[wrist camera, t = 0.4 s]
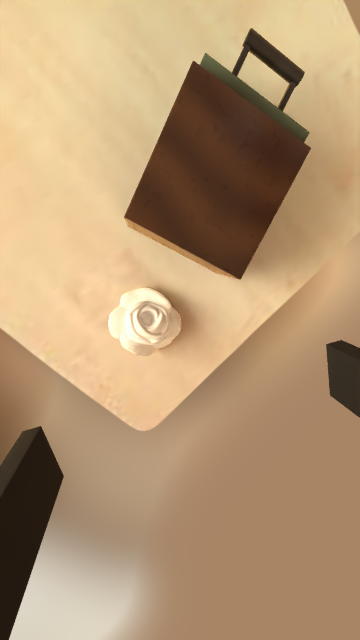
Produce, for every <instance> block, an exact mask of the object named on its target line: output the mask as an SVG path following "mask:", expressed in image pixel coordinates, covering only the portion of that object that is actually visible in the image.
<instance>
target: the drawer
mask: <svg viewBox="0 0 360 640" xmlns="http://www.w3.org/2000/svg"><path fill="white" fill-rule="evenodd" d="M243 47H244V48H243V50H242V52H241V54H240V56H239V59H238V61H237V63H236V65H235V67H234V69H233V71H232V73H231V72H230V71H229V70H227V69H226V68H225V67H223V66H222V65H221V64H219V63H218V62H217V61H215V60H214V59H213V58H211V57H210V56H209V55H208V54H206V53H205V55H204V57H203V59H202V61H201V64H200V66H201V67H203V68H204V69H205V70H207V71H208V72H209V73H211V74H212V75H213V76H215V77H216V78H217V79H219V80H220V81H221V82H223V83H224V84H225V85H227V86H228V87H229V88H231V89H232V90H233V91H235V92H236V93H238V94H239V95H240V96H242V97H243V98H244V99H246V100H247V101H248V102H250V103H251V104H252V105H254V106H255V107H256V108H258V109H259V110H260V111H262V112H263V113H264V114H266V115H267V116H268V117H270V118H271V119H272V120H274V121H275V122H276V123H278V124H279V125H281V126H282V127H283V128H285V129H286V130H287V131H289V132H290V133H291V134H293V135H294V136H295V137H297V138H298V139H299V140H301V141H302V142H303V143H304V142H305V140H306V138H307V136H308V134H309V131H307V130H306V129H305V128H303V127H302V126H301V125H299V124H298V123H297V122H295V121H294V120H293V119H291V118H290V117H289V116H288V115H286V114H285V113H284V112H283V110H284V108H285V106H286V104H287V102H288V100H289V98H290V96H291V94H292V92H293V90H294V88H295V87H296V86H297V85H298V84H299V83H300V81H301V80H302V78H303V76H304V73H305V72H304V71H303V70H302V69H300V68H299V67H298V66H297V65H296V64H294V63H293V62H292V61H291V60H289V59H288V58H287V57H286V56H285V55H283V54H282V53H281V52H280V51H279V50H277V49H276V48H275V47H274V46H273V45H271V44H270V43H269V42H268V41H267V40H265V39H264V38H263V37H262V36H261V35H259V34H258V33H257V32H256V31H255V30H253V29H252V28H251V29H250V30H249V32H248V35H247V37H246V39H245V41H244V43H243ZM249 51H250V52H251V53H252V54H253V55H255V56H256V57H257V58H258V59H260V60H261V61H262V62H263V63H265V64H266V65H267V66H268V67H269V68H271V69H272V70H273V71H274V72H276V73H277V74H278V75H279V76H281V77H282V78H283V79H284V80H286V81H287V82H288V83H289V86H288V87H287V89H286V91H285V93H284V95H283V97H282V99H281V101H280V103H279V105H278V107H276V106H274V105H273V104H272V103H271V102H269V101H268V100H267V99H265V98H264V97H263V96H261V95H260V94H259V93H257V92H256V91H255V90H253V89H252V88H251V87H250V86H248V85H247V84H246V83H244V82H243V81H242V80H240V79H239V78H238V77H237V75H238V73H239V71H240V69H241V67H242V64H243V62H244V60H245V58H246V56H247V54H248V52H249Z"/></svg>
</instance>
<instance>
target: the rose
mask: <svg viewBox="0 0 360 640" xmlns="http://www.w3.org/2000/svg"><path fill="white" fill-rule="evenodd" d="M109 330H110V333H111V334H112V336H113V337H115V338H117V339H120V342H121V345H122V346H123V347H124V348H125V349H127V350H129V351H131V352H133V353H134V354H136V355H138V356H149V355H151V354H153V353H154V352H155V351H156V350H157V349H161V348H163V347H165V346H167V345H169V344H170V343H171V342H172V341H173V338H175V337H176V336H177V335H178V334H179V333H180V331H181V318H180V315H179V313H178V312H177V311H176V310H175V309H174V308H173V307H172V306H171V303H170V301H169V300H168V299H167V298H166V297H165V296H164V295H162V294H161V293H160V292H158V291H156V290H154V289H151V288H139V289H137V290H134V291H130V292H127V293H125V294H124V295H123V296H122V297H121V300H120V306H119V307H117V308H116V309H115V310H114V311H113V312H112V313H111V314H110V317H109Z"/></svg>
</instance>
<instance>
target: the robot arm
mask: <svg viewBox="0 0 360 640" xmlns="http://www.w3.org/2000/svg"><path fill="white" fill-rule="evenodd" d="M326 347H327V361H328V373H329V374H328V375H329V388H330V395H331V396H332V397H333V398H334V399H336V400H337V401H338V402H340V403H341V404H342V405H344V406H345V407H346V408H348V409H349V410H350V411H352V412H353V413H354V414H356V415H357V416H358V417H360V348H358V347H356V346H354V345H351V344H349V343H347V342H344V341H342V340H340V341H337V342H333V343H329V344H327V345H326ZM63 477H64V476H63V473H62V471H61V469H60V467H59V465H58V463H57V461H56V458H55V456H54V454H53V451H52V449H51V447H50V445H49V443H48V441H47V438H46V436H45V434H44V432H43V430H42V427H41V426H40V427H37V428H33V429H29V430H26V431H23V432H22V433H21V435H20V437H19V438H18V439H17V441H16V443H15V444H14V446H13V447H12V449H11V450H10V452H9V453H8V455H7V456H6V458H5V460H4V461H3V463H2V464H1V466H0V640H9V637H10V634H11V631H12V628H13V625H14V622H15V619H16V616H17V613H18V611H19V608H20V605H21V602H22V599H23V596H24V593H25V590H26V587H27V584H28V581H29V578H30V575H31V572H32V569H33V566H34V563H35V560H36V557H37V554H38V551H39V548H40V545H41V542H42V539H43V536H44V533H45V530H46V527H47V524H48V521H49V518H50V515H51V513H52V509H53V507H54V504H55V501H56V498H57V495H58V492H59V489H60V486H61V483H62V480H63Z"/></svg>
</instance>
